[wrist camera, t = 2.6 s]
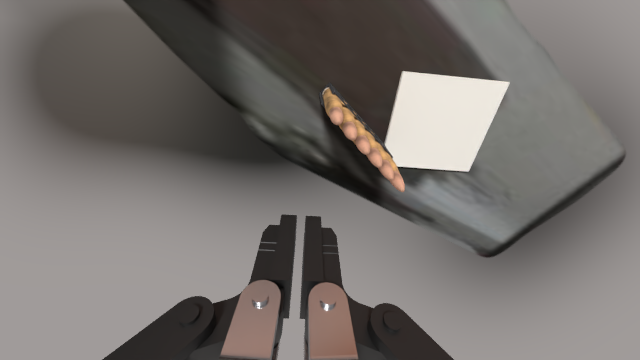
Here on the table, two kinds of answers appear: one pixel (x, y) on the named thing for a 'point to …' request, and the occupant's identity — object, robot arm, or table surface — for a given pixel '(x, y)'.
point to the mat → (441, 120)
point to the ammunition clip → (360, 134)
